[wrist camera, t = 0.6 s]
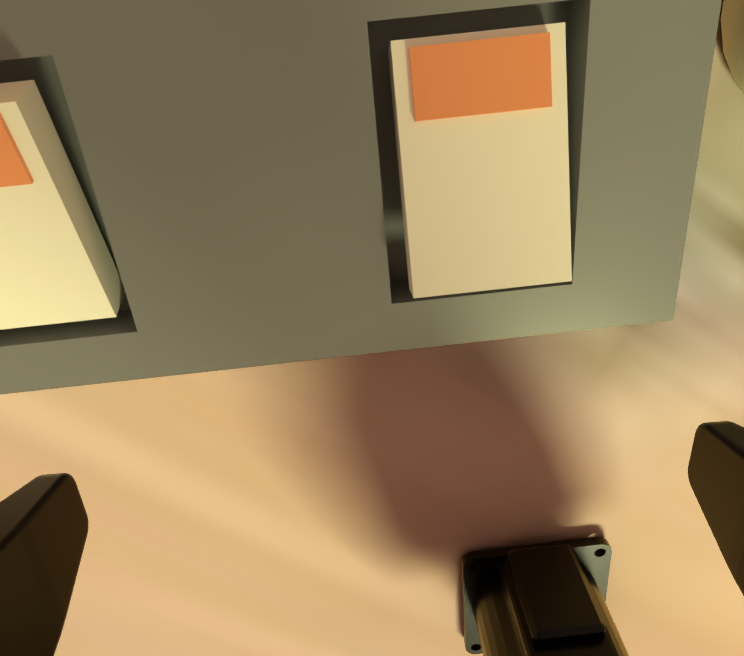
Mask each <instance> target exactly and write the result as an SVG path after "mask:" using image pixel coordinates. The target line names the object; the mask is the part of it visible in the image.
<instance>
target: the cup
mask: <svg viewBox="0 0 744 656" xmlns="http://www.w3.org/2000/svg"><path fill="white" fill-rule="evenodd" d="M721 29H722V43H723V53H724V56H725V58H726V61H727V64H728V66H729V69H730V72H731V74H732V77H733V80H734V81H735V83H736V84H737V85H738V86H739V87H740V89H741V90H742V91H743V92H744V0H724V1H723V7H722V14H721Z"/></svg>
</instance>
